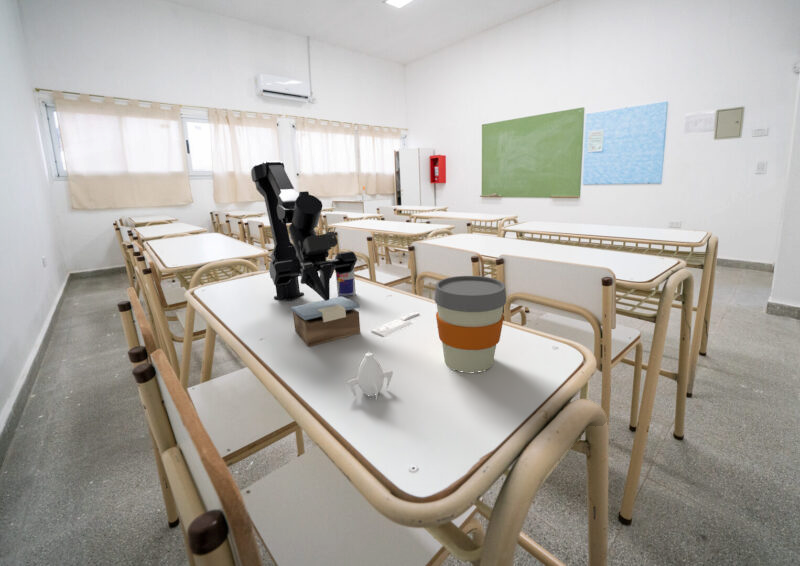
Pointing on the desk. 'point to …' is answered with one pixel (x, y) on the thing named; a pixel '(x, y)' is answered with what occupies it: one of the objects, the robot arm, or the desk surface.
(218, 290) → the desk surface
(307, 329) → the box
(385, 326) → the white plastic blade
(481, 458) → the desk surface
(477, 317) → the reusable coffee cup
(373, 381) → the rocket toy
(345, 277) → the energy drink
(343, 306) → the lid
